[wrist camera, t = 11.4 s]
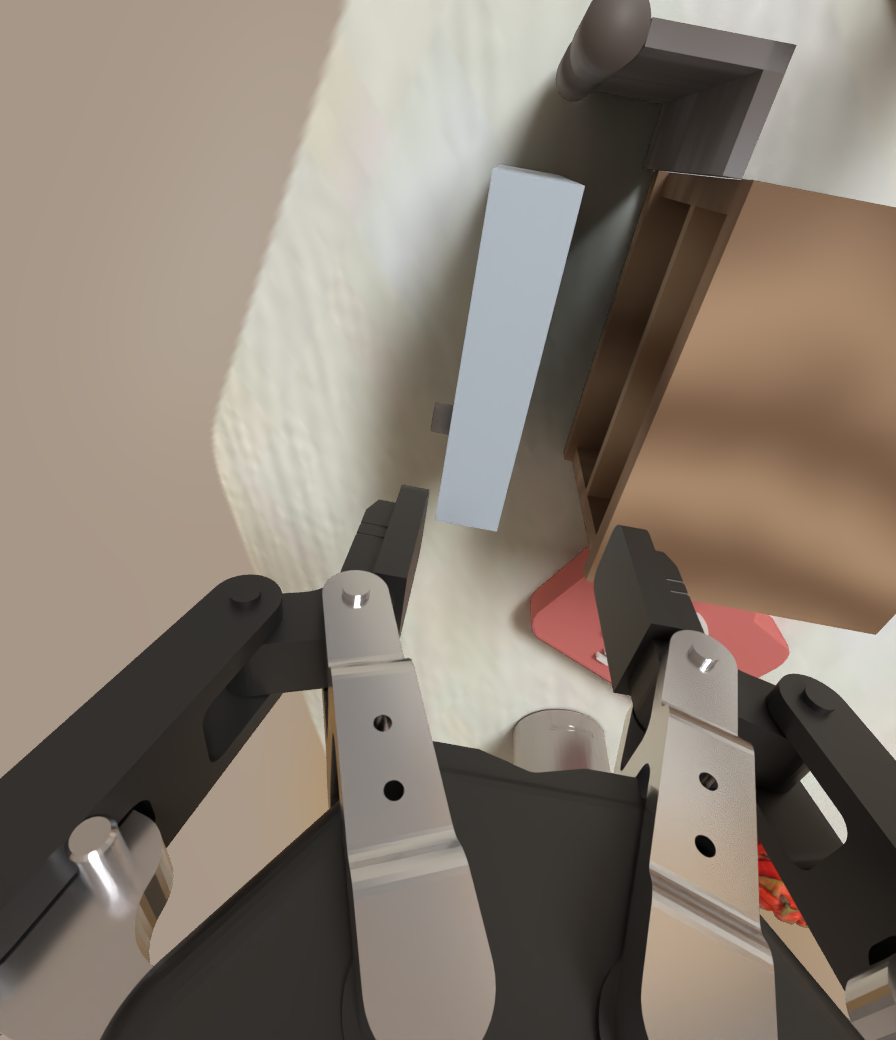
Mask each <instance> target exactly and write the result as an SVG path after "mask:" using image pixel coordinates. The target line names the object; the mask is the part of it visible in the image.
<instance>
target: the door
mask: <svg viewBox="0 0 896 1040" xmlns="http://www.w3.org/2000/svg"><path fill="white" fill-rule="evenodd" d="M584 188H585V186H584V185H582V184H579V183H577V182H574V181H572V180H570V179H567V178H565V177H562V176H560V175H557V174H552V173H546V172H541V171H535V170H530V169H524V168H519V167H513V166H508V165H502V164H499V165H498V166H496V167H495V168H493V170H492V176H491V182H490V188H489V194H488V200H487V206H486V212H485V218H484V224H483V230H482V236H481V243H480V249H479V255H478V261H477V267H476V273H475V279H474V285H473V291H472V297H471V303H470V309H469V315H468V322H467V328H466V334H465V340H464V346H463V352H462V358H461V364H460V370H459V376H458V382H457V388H456V394H455V401H454V406H452V405H446V404H440V403H435V407H434V412H433V418H432V424H431V431H433V432H438V433H444V434H449V437H448V443H447V449H446V455H445V461H444V467H443V473H442V480H441V486H440V492H439V498H438V504H437V510H436V516H435V521H441V522H446V523H452V524H457V525H463V526H468V527H474V528H479V529H485V530H491V531H496V532H497V529H498V525H499V521H500V517H501V513H502V509H503V506H504V502H505V498H506V494H507V490H508V486H509V482H510V478H511V474H512V470H513V466H514V462H515V459H516V455H517V451H518V447H519V443H520V439H521V435H522V431H523V427H524V423H525V419H526V415H527V412H528V408H529V404H530V400H531V396H532V392H533V388H534V384H535V380H536V376H537V372H538V368H539V365H540V361H541V357H542V353H543V349H544V345H545V341H546V337H547V333H548V329H549V325H550V321H551V318H552V314H553V310H554V306H555V302H556V298H557V294H558V290H559V286H560V282H561V278H562V275H563V271H564V267H565V263H566V259H567V255H568V251H569V247H570V243H571V239H572V235H573V231H574V228H575V224H576V220H577V216H578V212H579V208H580V204H581V200H582V196H583V192H584Z"/></svg>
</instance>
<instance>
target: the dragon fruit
mask: <svg viewBox="0 0 896 1040" xmlns="http://www.w3.org/2000/svg"><path fill="white" fill-rule="evenodd" d="M757 851H758V882H759V908H761V909H764V910H767V911H773V913H774V915H775V917H776V918H777V919H779V920H781V921H783V922H786V923H789V924H794V923H796V924H797V925H799V926H801V927H806V928H809V927H808V925H807V924H806V922H805V920H804V918H803V917H802V915H801V913H800V911H799V910H798V908H797V906H796V904H795V903H794V901H793V899H792V897H791V896H790V894H789V892H788V890H787V888H786V887H785V885H784V883H783V881H782V880H781V878H780V876H779V874H778V873H777V871H776V869H775V867H774V866H773V864H772V862H771V860H770V859H769V857H768V855H767V853H766V851H765V850H764V848H763V846H762V844H761V843H760V841H759V839H758V837H757Z"/></svg>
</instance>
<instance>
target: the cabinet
mask: <svg viewBox="0 0 896 1040" xmlns="http://www.w3.org/2000/svg"><path fill="white" fill-rule="evenodd" d="M795 47H796V45H794V44H789V43H783V42H778V41H773V40H768V39H763V38H758V37H752V36H747V35H742V34H737V33H732V32H727V31H721V30H716V29H711V28H706V27H701V26H696V25H691V24H685V23H680V22H675V21H670V20H665V19H660V18H654V17H653V18H652V19H651V8H650V3H649V0H593V1H592V2H591V4H590V6H589V8H588V10H587V12H586V14H585V16H584V17H583V19H582V21H581V23H580V25H579V27H578V29H577V31H576V33H575V35H574V38H573V40H572V42H571V43H570V45H569V47H568V48H567V50H566V52H565V54H564V56H563V58H562V60H561V62H560V64H559V66H558V69H557V74H556V84H557V88H558V91H559V93H560V94H561V96H562V97H563V98H565V99H566V100H568V101H579V100H581V99H583V98H585V97H586V96H587V95H588V94H590V93H591V92H592V91H597V92H602V93H608V94H613V95H618V96H623V97H628V98H634V99H639V100H644V101H649V102H654V103H660V104H662V107H661V111H660V114H659V117H658V120H657V124H656V127H655V130H654V133H653V136H652V140H651V143H650V146H649V149H648V152H647V156H646V159H645V162H644V165H643V168H646V169H651V170H654V173H653V177H652V180H651V183H650V186H649V189H648V192H647V195H646V198H645V201H644V204H643V207H642V211H641V214H640V217H639V220H638V223H637V226H636V229H635V232H634V235H633V238H632V242H631V245H630V248H629V251H628V254H627V257H626V260H625V263H624V266H623V269H622V273H621V276H620V279H619V282H618V285H617V288H616V291H615V294H614V297H613V300H612V304H611V307H610V310H609V313H608V316H607V319H606V322H605V325H604V328H603V331H602V335H601V338H600V341H599V344H598V347H597V350H596V353H595V356H594V359H593V362H592V366H591V369H590V372H589V375H588V378H587V381H586V384H585V387H584V390H583V393H582V396H581V400H580V403H579V406H578V409H577V412H576V415H575V418H574V421H573V424H572V427H571V431H570V434H569V437H568V440H567V443H566V446H565V449H564V458H565V460H571V461H572V463H573V468H574V473H575V478H576V483H577V488H578V493H579V498H580V503H581V508H582V514H583V519H584V524H585V529H586V534H587V539H588V544H589V549H590V552H589V554H588V557H587V559H586V562H585V564H584V567H583V568H584V574H585V580H586V581H589V582H594V578H595V573H596V570H597V567H598V565H599V562H600V560H601V558H602V555H603V553H604V551H605V548H606V546H607V543H608V541H609V539H610V536H611V534H612V532H613V530H614V528H615V527H616V526H617V525H623V526H629V527H634V528H640V529H645V530H647V531H648V532H649V534H650V537H651V540H652V542H653V545H654V548H655V550H656V551H661V552H664V553H665V554H666V555H667V556H668V557H669V558H670V559H671V560H672V561H673V562H674V564H675V565H676V566H677V567H678V570H679V572H680V575H681V577H682V580H683V584H685V587H686V589H687V592H688V594H687V595H688V596H689V597H690V599H691V600H692V601H697V602H702V603H708V604H713V605H719V606H724V607H729V608H735V609H740V610H746V611H751V612H756V613H762V614H767V615H772V616H778V617H783V618H789V619H794V620H799V621H805V622H810V623H816V624H821V625H826V626H832V627H837V628H842V629H848V630H853V631H859V632H864V633H869V634H875V635H876V634H877V633H878V632H879V631H880V630H881V629H882V628H883V627H884V626H885V625H886V623H887V622H888V621H889V620H890V619H891V618H892V617H893V616H894V615H895V614H896V208H895V207H890V206H885V205H880V204H875V203H869V202H864V201H859V200H854V199H848V198H843V197H838V196H833V195H828V194H822V193H817V192H812V191H807V190H802V189H796V188H791V187H786V186H781V185H775V184H770V183H765V182H760V181H755V180H745V179H742V177H743V175H744V172H745V170H746V167H747V165H748V162H749V160H750V158H751V155H752V153H753V150H754V148H755V145H756V143H757V140H758V138H759V136H760V133H761V131H762V128H763V126H764V123H765V121H766V118H767V116H768V113H769V111H770V109H771V106H772V104H773V101H774V99H775V96H776V94H777V91H778V89H779V87H780V84H781V82H782V79H783V77H784V74H785V72H786V69H787V67H788V64H789V62H790V60H791V57H792V55H793V52H794V50H795ZM664 171H668V172H664ZM669 172H678V173H687V174H697V175H707V176H716V177H726V178H736V179H742V180H733V179H724V178H715V177H706V176H696V175H687V174H678V173H669Z"/></svg>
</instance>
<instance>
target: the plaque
mask: <svg viewBox="0 0 896 1040" xmlns="http://www.w3.org/2000/svg"><path fill="white" fill-rule="evenodd" d="M589 552H590V549H589V546H588V547H587V548H586V549H585V550H584V551H582V552H581V553H580V554H579V555H578V556H576V557H575V558H574V559H573V560H572V561H570V562H569V563H568V564H567V565H566V566H564V567H563V568H562V569H561V570H560V571H558V572H557V573H556V574H555V575H554V576H553V577H551V578H550V579H549V580H548V581H547V582H545V583H544V584H543V585H542V586H541V587H539V588H538V589H537V590H536V591H535V592H534V594H533V595H532V597H531V601H530V610H531V626H532V631H533V633H534V634H535V635H536V637H537V638H539V639H540V640H542V641H544V642H545V643H547V644H548V645H550V646H552V647H553V648H555V649H557V650H558V651H560V652H561V653H563V654H565V655H566V656H568V657H570V658H571V659H573V660H574V661H576V662H578V663H579V664H581V665H583V666H584V667H586V668H587V669H589V670H591V671H592V672H594V673H596V674H597V675H599V676H600V677H602V678H604V679H605V680H607V681H609V682H610V683H612V682H611V677H610V672H609V667H608V662H607V656H606V651H605V646H604V641H603V636H602V631H601V626H600V621H599V615H598V610H597V605H596V600H595V595H594V582H589V581H586V580H585V574H584V568H583V567H584V564H585V562H586V559H587V557H588V554H589ZM691 601H692V600H691ZM692 604H693V606H694V609H695V611H696V613H697V616H698V618H699V621H700V623H701V626H702V628H703V630H704V633H705V634H706V635H708V636H710V637H712V638H714V639H716V640H717V641H718V642H720V643H721V644H722V645H723V646H725V647H726V648H727V649H728V650H729V651H730V653H731V654H732V655H733V657H734V659H735V661H736V664H737V669H739V670H741V671H743V672H745V673H747V674H749V675H752V676H754V677H757V678H758V677H760V676H762V675H764V674H766V673H768V672H770V671H772V670H774V669H776V668H777V667H779V666H780V665H781V664H783V663H784V661H785V660H786V659H787V658H788V656H789V648H788V644H787V643H786V641H785V639H784V638H783V636H782V634H781V632H780V631H779V629H778V627H777V625H776V624H775V622H774V620H773V618H771V617H770V616H769V615H767V614H762V613H756V612H751V611H746V610H740V609H735V608H729V607H724V606H719V605H713V604H708V603H702V602H697V601H692Z"/></svg>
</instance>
